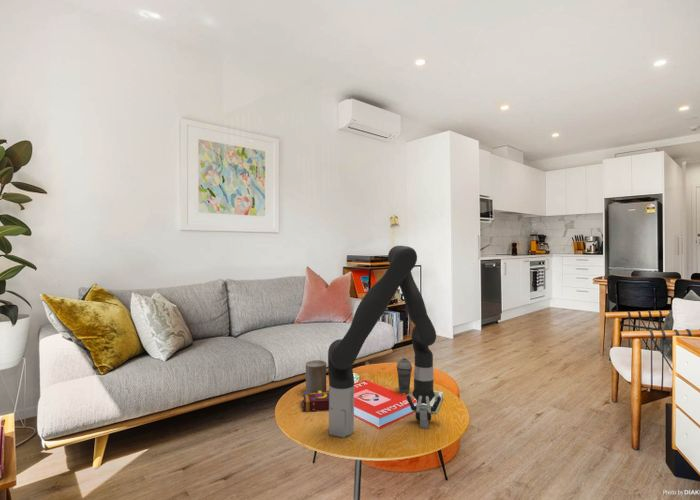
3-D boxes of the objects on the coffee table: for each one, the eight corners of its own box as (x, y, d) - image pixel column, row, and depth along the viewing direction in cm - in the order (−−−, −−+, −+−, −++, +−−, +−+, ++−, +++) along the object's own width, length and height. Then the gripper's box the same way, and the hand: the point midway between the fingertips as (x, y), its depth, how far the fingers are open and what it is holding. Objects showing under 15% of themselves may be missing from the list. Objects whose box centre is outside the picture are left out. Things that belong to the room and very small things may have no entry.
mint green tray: (436, 414, 159) (436, 406, 159) (412, 410, 162) (412, 402, 162) (442, 398, 174) (443, 392, 174) (420, 395, 178) (420, 388, 178)
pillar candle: (330, 391, 183) (330, 359, 183) (318, 397, 175) (318, 364, 175) (313, 387, 188) (313, 356, 188) (301, 393, 180) (301, 361, 180)
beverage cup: (407, 396, 177) (407, 352, 177) (393, 392, 181) (393, 349, 181) (414, 391, 183) (415, 349, 182) (401, 388, 187) (401, 346, 187)
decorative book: (339, 410, 162) (339, 398, 162) (300, 413, 160) (301, 401, 160) (336, 399, 174) (336, 388, 174) (299, 402, 171) (299, 390, 171)
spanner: (430, 428, 146) (430, 420, 146) (418, 428, 146) (418, 420, 146) (427, 413, 159) (427, 406, 159) (416, 413, 159) (416, 406, 159)
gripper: (405, 379, 148) (405, 424, 149) (443, 381, 147) (442, 426, 147) (405, 372, 156) (405, 415, 156) (441, 374, 154) (440, 417, 154)
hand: (423, 420), depth 152 cm, fingers closed on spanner, 3 cm apart
